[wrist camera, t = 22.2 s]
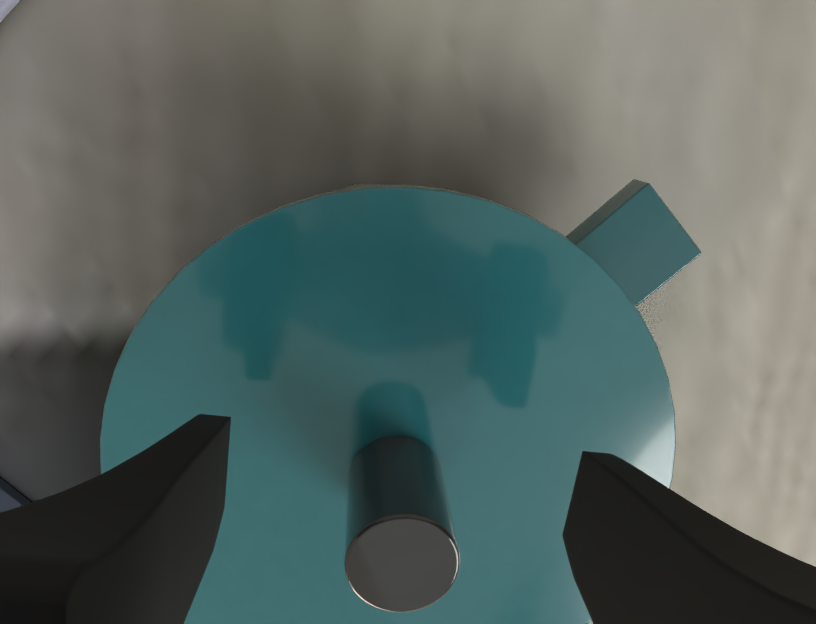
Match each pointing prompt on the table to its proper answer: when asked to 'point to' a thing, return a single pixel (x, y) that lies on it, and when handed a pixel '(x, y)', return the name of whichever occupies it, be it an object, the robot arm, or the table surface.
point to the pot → (633, 240)
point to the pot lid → (395, 407)
